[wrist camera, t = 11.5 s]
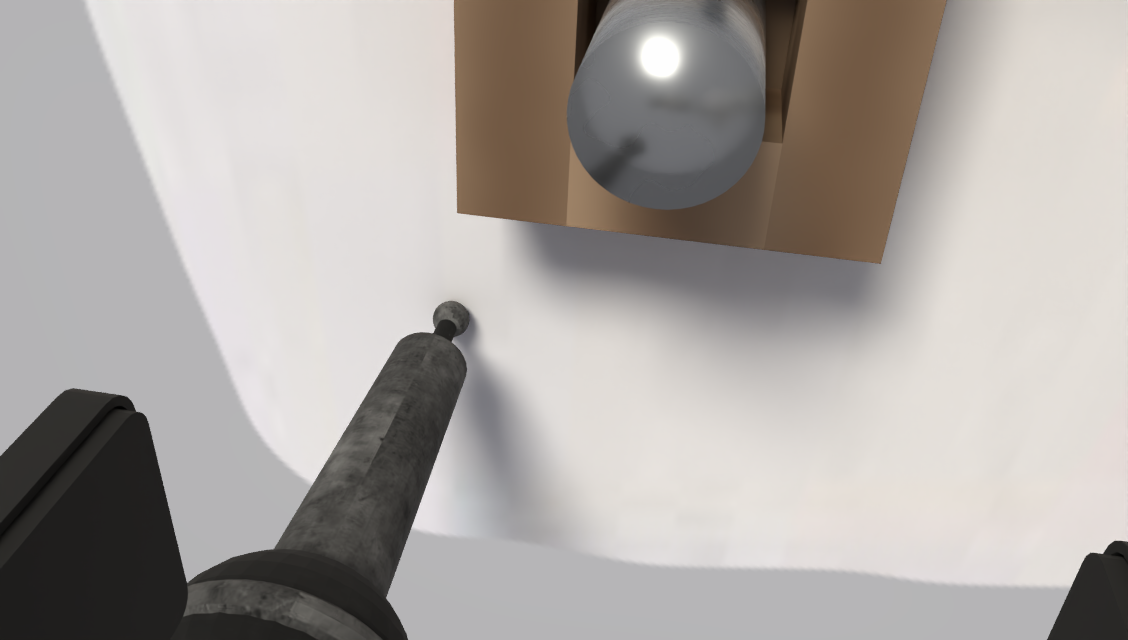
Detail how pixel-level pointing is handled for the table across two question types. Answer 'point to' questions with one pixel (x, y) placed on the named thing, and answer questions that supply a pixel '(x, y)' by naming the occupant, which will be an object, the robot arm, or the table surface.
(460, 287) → the table surface
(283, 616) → the microphone
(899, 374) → the table surface
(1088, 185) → the table surface
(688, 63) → the pin
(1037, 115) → the table surface
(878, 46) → the socket block
